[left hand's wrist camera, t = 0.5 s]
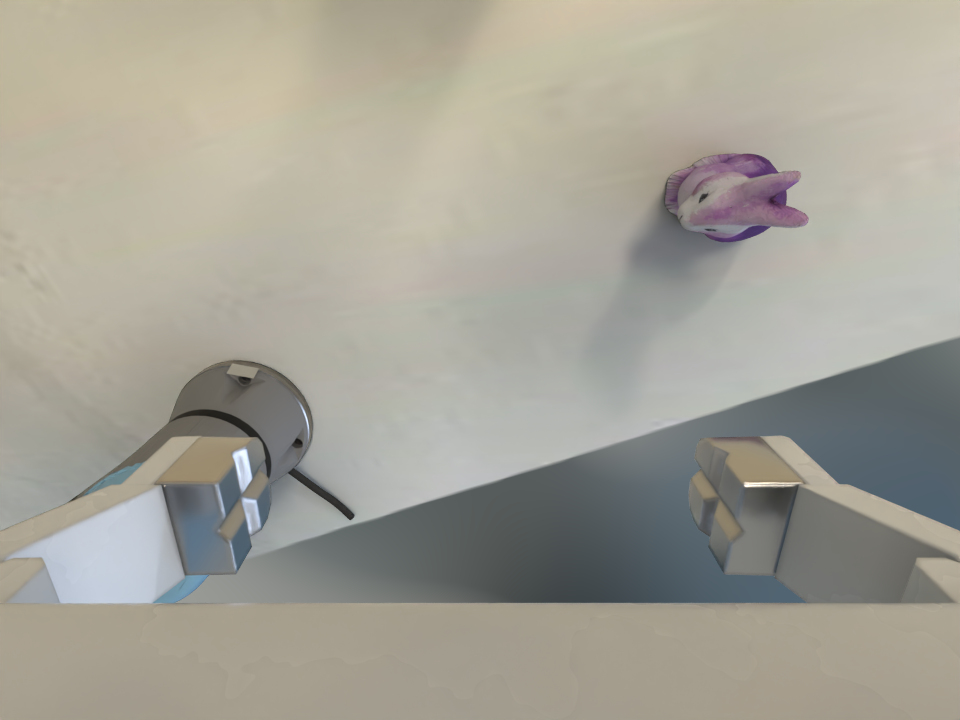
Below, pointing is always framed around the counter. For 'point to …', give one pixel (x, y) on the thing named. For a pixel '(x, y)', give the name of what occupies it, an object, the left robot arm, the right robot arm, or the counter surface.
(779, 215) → the figurine
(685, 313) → the counter surface
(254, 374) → the right robot arm
